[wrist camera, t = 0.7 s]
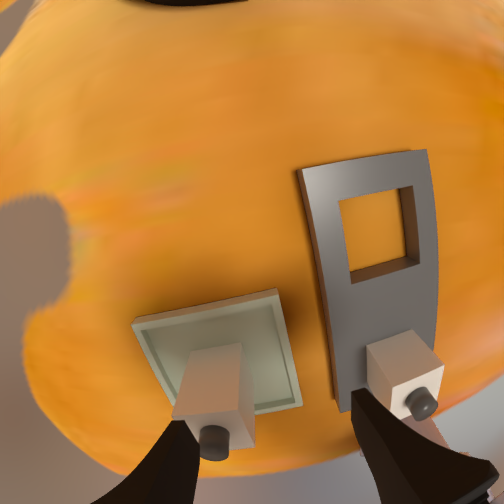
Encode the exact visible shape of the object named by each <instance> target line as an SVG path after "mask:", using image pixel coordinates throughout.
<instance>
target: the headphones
mask: <svg viewBox="0 0 504 504" xmlns="http://www.w3.org/2000/svg"><path fill="white" fill-rule="evenodd" d="M145 1H147V2H151V3H155V4H161V5H169V6H195V5H205V4H213V3H220V2H228V1H234V0H145Z"/></svg>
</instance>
